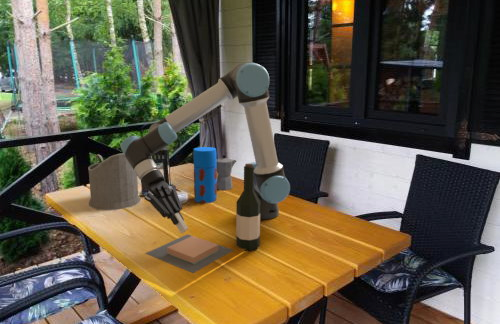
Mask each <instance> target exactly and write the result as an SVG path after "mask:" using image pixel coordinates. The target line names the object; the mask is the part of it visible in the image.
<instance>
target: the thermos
mask: <svg viewBox="0 0 500 324" xmlns="http://www.w3.org/2000/svg"><path fill="white" fill-rule="evenodd" d="M217 159H218V158H217V148H215V147H212V146H211V147H210V146H201V147H200V146H199V147H195V148H193V188H194V189H193V190H194V191H193V194H194V202H196V203H199V204H211V203H215V202H216V201H217V196H218V195H217V193H218V191H217V190H218V189H217V177H218V173H217V166H216V165H217Z"/></svg>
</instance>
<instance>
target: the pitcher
mask: <svg viewBox="0 0 500 324" xmlns="http://www.w3.org/2000/svg"><path fill="white" fill-rule="evenodd" d="M98 157H99V159H100V160H101V162H98ZM94 161H95V163H94V164H91V165H89V166H88V177H89V191H90V193H89V194H90V198H89V201H88V207H90V208H92V209H93V210H100V211H116V210H118V211H119V210H124V209H129V208H132V207H134V206H137V205H138V204H139V203H141V201H142V199H141V197H140V195H139V184H138V183H139V181H138V179H139V178H138V176H137V174H136V173H135V171H134V169H133V168H132V166H131V165H130V163H129V162H128V160H127V158H126V157H125V155H124V153H123V152H122V153H117V154H113V155H111V156H108V157H107V158H106V159H105V160H104V159H103V156H102V155H100V154H99V153H98V154H96V155H95V159H94Z"/></svg>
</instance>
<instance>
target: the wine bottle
mask: <svg viewBox="0 0 500 324" xmlns="http://www.w3.org/2000/svg"><path fill="white" fill-rule="evenodd" d="M235 219H236V221H235V222H236V224H235V225H236V227H235V229H236V231H235V232H236V233H235V235H236V236H235V239H236V240H235V242H236V243H235V244H236V246H237V247H238V248H239V249H243V250H244V252H253V251H257V250H258V249H259V248H260V244H261V243H260V241H261V239H260V237H261V219H260V200H259V198H258V197H257V195H256V193H255V192H254V166H253V164H251V163H245V165H244V166H243V191H242V192H241V194H240V196H239V197H238V199H237V200H236V218H235Z"/></svg>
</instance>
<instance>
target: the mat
mask: <svg viewBox="0 0 500 324" xmlns="http://www.w3.org/2000/svg"><path fill="white" fill-rule="evenodd" d="M191 236H192V235H191V234H185V235H183V236H180V237H178V238H176V239H174V240H172V241H170V242H167V243H165V244H163V245H160V246H159V247H156V248H154V249H151V250H150V251H148V252H145V253H144V254H146V255H148V256H151V257H153V258H155V259H157V260H160V261H161V262H162V261H163V262H165V263H167V264H169V265H173V266H174V267H178V268H180V269H182V270H184V271H186V272H189V273H192V274H195V273H197V271H199V270H201V269H204V268H205V267H207V266H208V265H210V264H212V263H214V262H216V261H217V260H220V259H221V258H222V257H224V256H226V255H228V254H230V253H231V252H233V251H234V249H232V248H229V247H226V246H223V245H221V244H218V252H216V253H214V254H212V255H210V256H209V257H207V258H205V259H203V260H201V261H199V262H197V263H196V264H192V263H189V262H187V261H184V260H182V259H179V258H177V257H174V256H172V255H169V254H168V253H167V247H169V246H172V245H174V244H176V243H178V242H180V241H183V240H185V239H187V238H189V237H191Z"/></svg>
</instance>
